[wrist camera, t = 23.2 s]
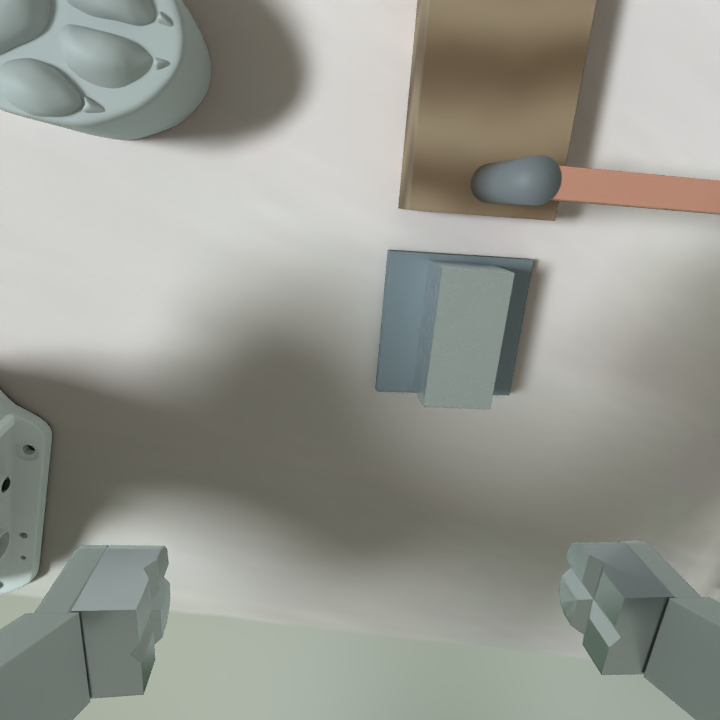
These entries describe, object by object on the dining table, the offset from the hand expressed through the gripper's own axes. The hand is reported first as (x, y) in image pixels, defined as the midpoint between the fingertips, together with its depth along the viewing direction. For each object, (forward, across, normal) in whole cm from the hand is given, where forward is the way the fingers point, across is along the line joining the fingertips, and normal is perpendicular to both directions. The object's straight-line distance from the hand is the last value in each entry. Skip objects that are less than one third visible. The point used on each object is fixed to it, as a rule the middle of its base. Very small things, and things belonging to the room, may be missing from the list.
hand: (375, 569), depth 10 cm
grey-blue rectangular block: (+28, -10, +2) cm, 30 cm away
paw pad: (+29, +14, -15) cm, 36 cm away
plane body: (+29, -10, -15) cm, 34 cm away
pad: (+29, -10, +2) cm, 31 cm away
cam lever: (+25, -16, -8) cm, 31 cm away
